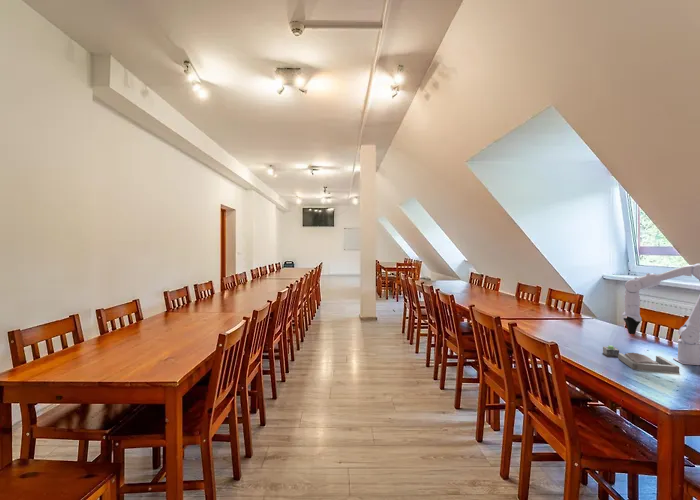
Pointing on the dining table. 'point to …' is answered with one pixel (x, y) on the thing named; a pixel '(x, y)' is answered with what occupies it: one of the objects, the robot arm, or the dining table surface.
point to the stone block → (640, 358)
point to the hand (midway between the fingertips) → (631, 333)
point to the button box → (610, 351)
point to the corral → (664, 367)
